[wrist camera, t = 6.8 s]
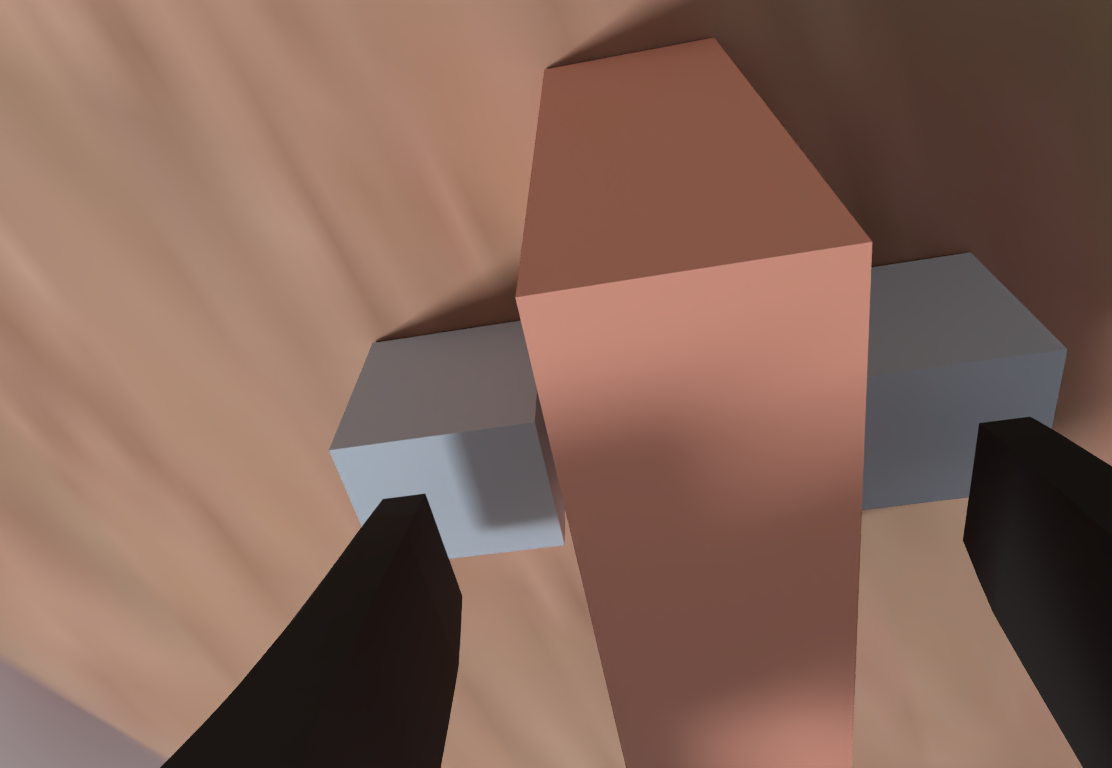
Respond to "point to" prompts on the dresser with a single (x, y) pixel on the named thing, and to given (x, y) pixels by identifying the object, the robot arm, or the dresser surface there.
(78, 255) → the dresser surface
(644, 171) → the pink rectangular block
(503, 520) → the grey block
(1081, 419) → the dresser surface
